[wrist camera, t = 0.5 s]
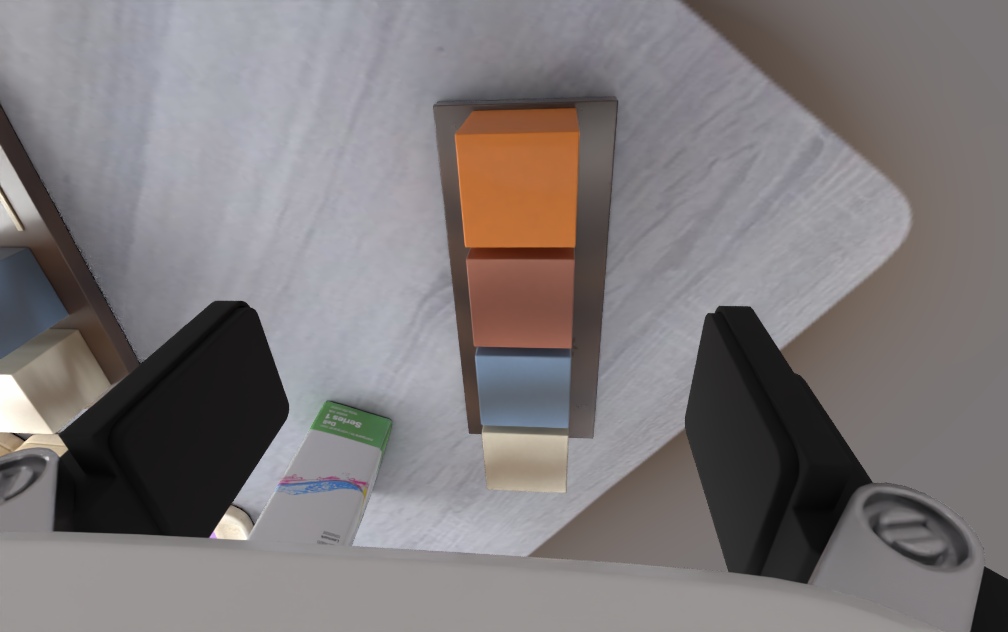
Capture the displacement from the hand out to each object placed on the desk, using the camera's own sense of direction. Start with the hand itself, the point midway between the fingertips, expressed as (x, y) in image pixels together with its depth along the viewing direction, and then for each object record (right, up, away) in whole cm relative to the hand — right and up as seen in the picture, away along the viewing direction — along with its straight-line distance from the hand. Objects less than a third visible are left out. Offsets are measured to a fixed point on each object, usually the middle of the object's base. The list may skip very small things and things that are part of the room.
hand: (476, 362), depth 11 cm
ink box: (-10, -8, +26) cm, 29 cm away
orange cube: (+2, +8, +12) cm, 15 cm away
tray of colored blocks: (-28, +4, +20) cm, 34 cm away
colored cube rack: (+2, +2, +17) cm, 17 cm away
